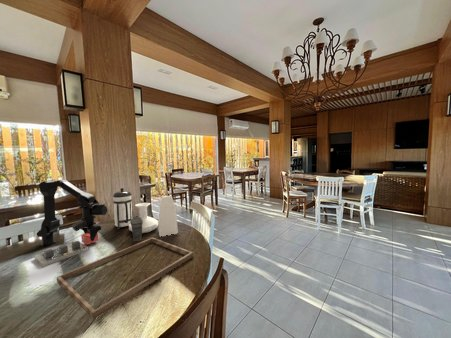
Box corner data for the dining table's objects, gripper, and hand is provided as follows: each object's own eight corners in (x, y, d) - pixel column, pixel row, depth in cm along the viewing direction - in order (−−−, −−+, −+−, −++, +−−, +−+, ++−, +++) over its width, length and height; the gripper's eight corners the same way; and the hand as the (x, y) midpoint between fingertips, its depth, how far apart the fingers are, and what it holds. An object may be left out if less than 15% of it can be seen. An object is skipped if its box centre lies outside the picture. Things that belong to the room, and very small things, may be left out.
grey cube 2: (59, 252, 107) (58, 246, 106) (65, 249, 109) (65, 244, 109) (61, 253, 105) (60, 248, 105) (67, 251, 107) (67, 246, 107)
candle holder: (149, 236, 131) (148, 208, 130) (122, 234, 134) (121, 207, 133) (163, 225, 151) (162, 201, 150) (139, 224, 154) (138, 200, 153)
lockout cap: (81, 241, 121) (81, 234, 120) (93, 238, 126) (93, 231, 126) (86, 244, 117) (85, 237, 117) (98, 240, 122) (97, 233, 122)
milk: (175, 228, 146) (174, 194, 144) (177, 233, 136) (176, 197, 134) (158, 230, 141) (157, 195, 139) (159, 236, 131) (158, 198, 129)
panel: (34, 259, 104) (34, 254, 103) (79, 244, 120) (78, 240, 120) (42, 266, 96) (41, 262, 96) (88, 250, 113) (87, 246, 113)
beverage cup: (138, 242, 122) (137, 211, 121) (128, 241, 124) (127, 210, 122) (145, 237, 129) (144, 208, 128) (136, 236, 131) (134, 207, 129)
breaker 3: (72, 247, 112) (71, 242, 112) (78, 245, 114) (77, 240, 114) (74, 248, 110) (73, 243, 110) (80, 246, 113) (80, 241, 112)
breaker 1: (44, 256, 102) (44, 251, 102) (51, 254, 104) (51, 248, 104) (46, 258, 100) (45, 252, 100) (53, 255, 103) (53, 250, 102)
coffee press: (106, 229, 144) (104, 189, 141) (121, 222, 159) (120, 186, 157) (128, 231, 141) (126, 190, 138) (141, 223, 156) (139, 186, 154)
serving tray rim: (57, 282, 84) (56, 276, 84) (152, 241, 124) (152, 237, 124) (93, 320, 65) (92, 313, 65) (193, 256, 105) (192, 252, 104)
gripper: (66, 216, 119) (68, 240, 120) (79, 221, 108) (81, 248, 110) (87, 211, 128) (89, 234, 129) (101, 216, 118) (102, 241, 119)
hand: (90, 239), depth 121 cm, fingers closed on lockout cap, 7 cm apart
